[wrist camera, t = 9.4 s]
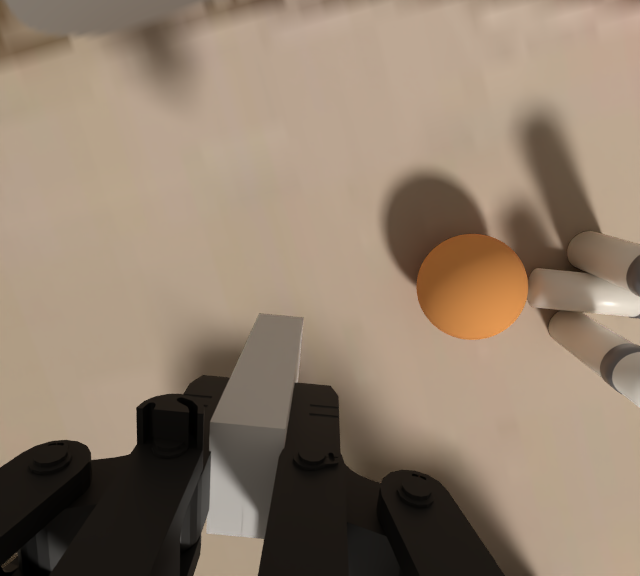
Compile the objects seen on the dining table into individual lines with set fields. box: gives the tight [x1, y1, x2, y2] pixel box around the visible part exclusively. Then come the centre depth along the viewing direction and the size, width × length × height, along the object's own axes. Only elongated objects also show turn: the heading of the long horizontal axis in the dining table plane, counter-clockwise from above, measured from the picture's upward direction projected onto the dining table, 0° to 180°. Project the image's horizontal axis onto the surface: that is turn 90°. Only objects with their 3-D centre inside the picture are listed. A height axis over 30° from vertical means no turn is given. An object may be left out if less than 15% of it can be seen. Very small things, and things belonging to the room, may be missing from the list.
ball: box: [417, 234, 528, 340], centre depth 26 cm, size 6×6×6 cm
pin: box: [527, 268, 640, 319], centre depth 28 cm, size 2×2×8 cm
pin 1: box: [567, 231, 640, 297], centre depth 24 cm, size 2×2×8 cm
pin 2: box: [548, 310, 640, 407], centre depth 26 cm, size 2×2×8 cm
